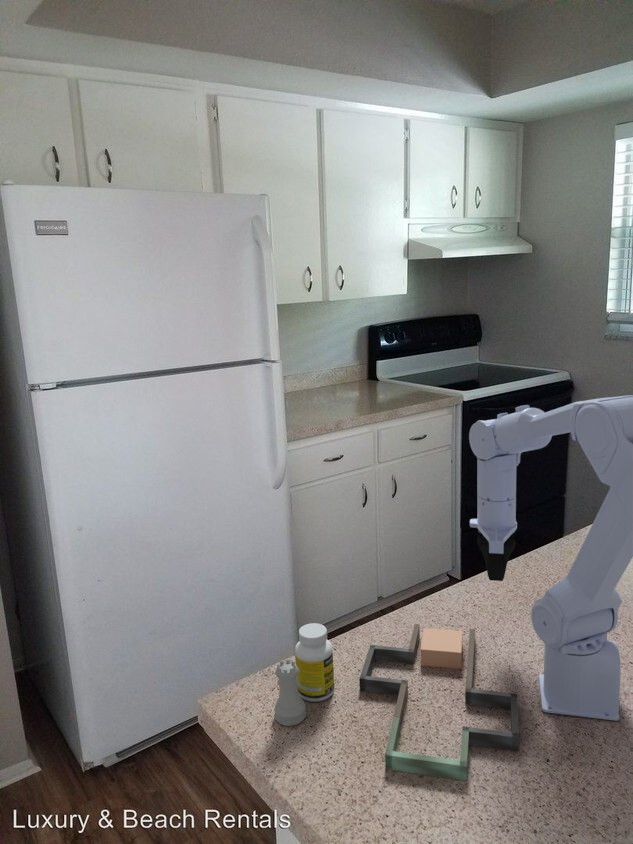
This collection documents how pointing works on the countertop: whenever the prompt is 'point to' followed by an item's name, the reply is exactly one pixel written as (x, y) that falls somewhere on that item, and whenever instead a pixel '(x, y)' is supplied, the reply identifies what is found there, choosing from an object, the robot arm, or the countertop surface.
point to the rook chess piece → (289, 696)
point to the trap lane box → (469, 734)
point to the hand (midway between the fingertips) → (496, 576)
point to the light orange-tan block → (441, 648)
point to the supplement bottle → (314, 663)
